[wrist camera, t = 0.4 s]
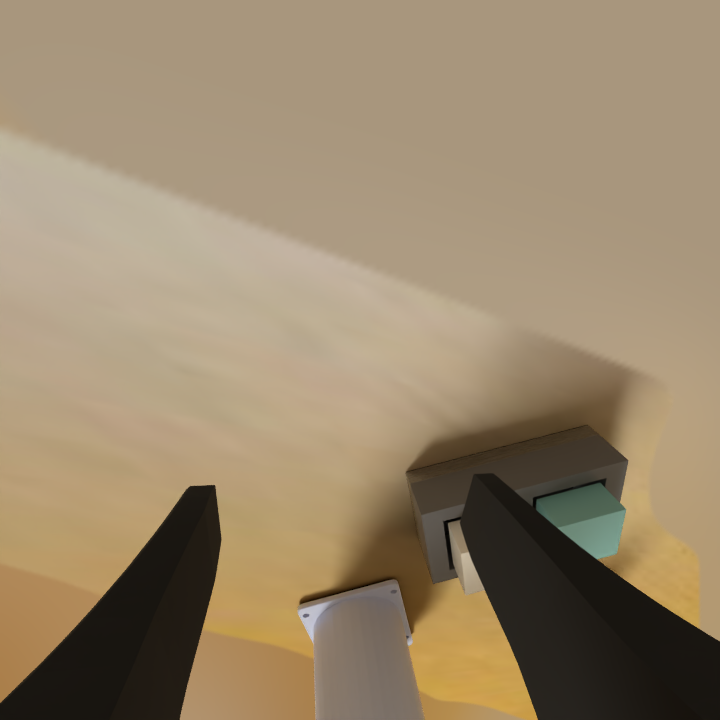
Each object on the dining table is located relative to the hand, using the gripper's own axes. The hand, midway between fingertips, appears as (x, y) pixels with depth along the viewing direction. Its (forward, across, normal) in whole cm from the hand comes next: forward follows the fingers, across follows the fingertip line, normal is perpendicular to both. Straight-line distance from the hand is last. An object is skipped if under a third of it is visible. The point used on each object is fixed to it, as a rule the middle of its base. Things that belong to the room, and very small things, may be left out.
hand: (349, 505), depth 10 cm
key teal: (+7, -15, +9) cm, 19 cm away
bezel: (+10, -12, +10) cm, 19 cm away
